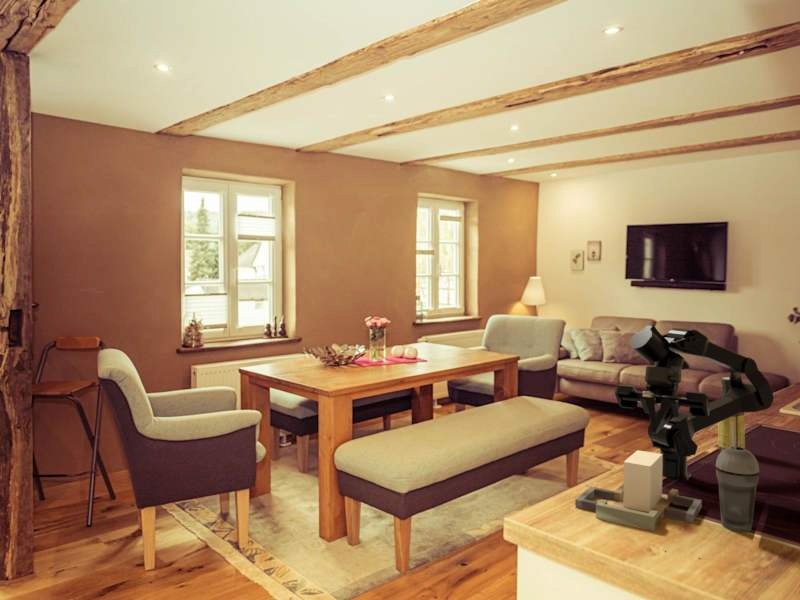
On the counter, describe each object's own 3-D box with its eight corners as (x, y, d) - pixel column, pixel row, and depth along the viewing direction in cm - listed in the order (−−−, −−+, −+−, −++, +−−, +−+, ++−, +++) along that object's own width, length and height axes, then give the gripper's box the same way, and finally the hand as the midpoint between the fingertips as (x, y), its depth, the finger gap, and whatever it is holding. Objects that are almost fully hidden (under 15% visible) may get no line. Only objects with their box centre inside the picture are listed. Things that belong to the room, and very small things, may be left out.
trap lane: (603, 487, 134) (603, 471, 134) (704, 507, 123) (705, 489, 122) (569, 516, 118) (570, 499, 118) (683, 543, 106) (684, 523, 106)
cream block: (636, 492, 128) (637, 450, 128) (662, 497, 125) (662, 454, 125) (623, 506, 120) (623, 461, 120) (649, 512, 117) (650, 466, 117)
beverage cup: (735, 542, 106) (737, 429, 105) (704, 526, 113) (706, 420, 112) (769, 537, 108) (771, 426, 107) (736, 522, 115) (738, 417, 114)
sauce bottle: (738, 449, 163) (739, 376, 163) (749, 456, 157) (750, 380, 156) (712, 449, 164) (714, 376, 163) (722, 455, 158) (724, 379, 157)
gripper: (617, 349, 139) (601, 405, 130) (707, 355, 128) (697, 417, 119) (626, 378, 145) (612, 434, 137) (713, 386, 134) (704, 447, 126)
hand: (654, 432), depth 129 cm, fingers closed
